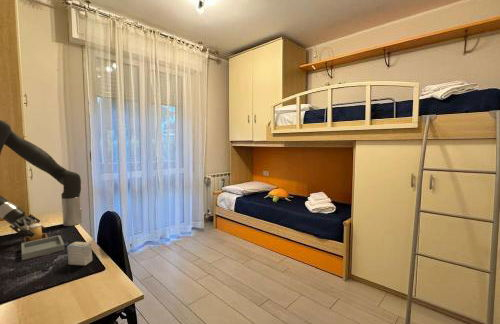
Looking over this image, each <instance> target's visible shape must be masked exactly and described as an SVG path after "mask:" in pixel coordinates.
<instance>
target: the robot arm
mask: <svg viewBox="0 0 500 324" xmlns="http://www.w3.org/2000/svg"><path fill="white" fill-rule="evenodd" d="M4 146H6V147H7V148H9V149H11V150H12V151H13V152H14V153H15V154H16V155H18V156H19V157H20V158H22V160H25V161H26V162H27V163H29V164H31V165H32V166H34V167H36V168H38V169H39V170H40V171H42V172H45V173H47V174H48V175H49V176H51V177H52V178H54V179H55V180H56V181H57V182H58V183H59V184H60V185H62V187H63V190H62V191H63V192H61V194H60V195H61V207H62V208H61V211H62V212H61V213H62V225H63V226H65V227H71V226H78V225H79V224H82V223H83V218H82V215H83V214H82V208H81V191H82V179H81V178H82V177H81V175H80V174H79V173H77V172H74V171H70V170H68V169H66V168H65V167H63V166H61V165H60V164H58V162H57V161H56V160H55V159H54V158H53V157H52V155H50V154H49V153H47V151H45V150H43V149H42V148H41V147H39V146H37V145H36V144H34V143H32V142H31V141H28V140H26V139H24V138H22V137H21V136H19V135H18V134H17V133H16V132H14V131H13V130H12V127H11V125H10V124H9V123H8V122H6V121H4V120H0V155H1V154H2V151H3V148H4ZM0 218H1V219H2V220H4V222H6V223H8V224H10V225H9V226H8V227H9V228H11V229H12V230H13V231H15V232H16V233H17V234H18V235H21V234H25V235H26V236H27V237H28V236H29V237H32V236H34V235H35V233H33V232H32V231H30V230H29V228H28V226H29V225H31V224H35V223H41V219H39V218H38V217H36V216H34V215H33V214H32V213H31V214H29V215H28V216H27V215H26V211H25V210H23V209H22V208H20V207H18V206H17V205H16V204H15V203H13V202H11V201H9V200H8V199H7V198H5V197H4V196H2V195H0ZM41 228H42V231H43V230H45V226H43V225H42V224H41Z"/></svg>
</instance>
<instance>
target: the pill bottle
mask: <svg viewBox="0 0 500 324" xmlns="http://www.w3.org/2000/svg"><path fill="white" fill-rule="evenodd" d="M41 225H42V223H41V222H39V223H35V224H34V223H33V224H31V225H29V226H27V228H28V229H29V230H30V231H32V232H33V233H35V235H34V236H32V237H29V241H34V240H38V239H43V238H42V234H43V230H42V228H41Z"/></svg>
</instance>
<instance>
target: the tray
mask: <svg viewBox="0 0 500 324" xmlns="http://www.w3.org/2000/svg"><path fill="white" fill-rule="evenodd" d="M63 240H64V239H62V236H61V235H59V234H58V235H53V236H49V237H48V238H45V237H44V239H43V238H42V239H40V240H35V241H30V240H29V241H30V242H29V241H26V242H25V243H24V242H21V246H20V247H21V260H22V261H24V260H25V261H26V260H29V259H33V258H37V257H41V256H46V255H49V254H53V253H56V252H62V251H65V244H64V241H63Z"/></svg>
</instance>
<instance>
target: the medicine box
mask: <svg viewBox="0 0 500 324" xmlns="http://www.w3.org/2000/svg"><path fill="white" fill-rule="evenodd" d="M66 248H67V261H68V265H72V266H73V265H74V266H86V265H89V264H90V263H91V262H92V261H93V250H92V242H87V241H86V242H85V241H74V242H72V243H70V244H68V245H67V247H66Z"/></svg>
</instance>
